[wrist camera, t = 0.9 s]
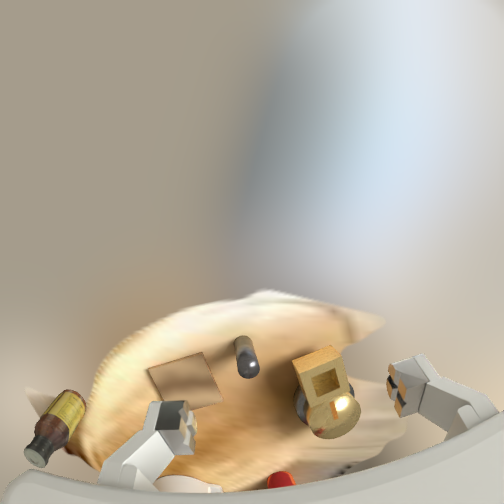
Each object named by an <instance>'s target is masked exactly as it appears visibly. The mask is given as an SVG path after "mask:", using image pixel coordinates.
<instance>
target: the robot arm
mask: <svg viewBox="0 0 504 504" xmlns="http://www.w3.org/2000/svg"><path fill="white" fill-rule="evenodd" d="M388 372H389V374H390V375H389V377H388V378H387V383H386V385H387V391H388V395H389V397H390V399H391V400H393V401H395V406H394V407H395V409H396V411H397V413H398V415H399V417H400V418H402V417H405V416H408V415H411V414H414V413H416V412H418V413H419V414H421V415H422V416H424V417H425V418H426V419H428V420H430V421H431V422H433V423H434V424H436V425H437V426H439V427H440V428H442V429H444V430H445V431H447V432H448V434H447V435H446V438H445V440H444V442H441V443H439V444H437V445H435V446H432V447H430V448H427V449H425V450H422V451H420V452H417V453H415V454H412V455H409V456H407V457H404V458H401V459H398V460H395V461H392V462H389V463H386V464H383V465H380V466H377V467H373V468H370V469H367V470H363V471H359V472H355V473H352V474H348V475H344V476H339V477H335V478H331V479H326V480H321V481H316V482H311V483H305V484H299V485H293V486H287V487H279V488H272V489H263V490H252V491H240V492H223V490H222V487H221V486H219V485H215V484H208V483H205V482H202V481H200V480H198V479H195V478H192V477H187V476H179V475H172V476H165V477H162V478H159V479H157V478H158V477H159V475H160V474H161V473H162V472H163V470H164V469H165V468H166V467H167V465H168V464H169V463H170V462H171V460H172V459H173V458H174V457H175V456H174V455H191V454H194V451H195V440H194V438H193V437H194V435H195V434H196V433H197V421H196V418H195V415H194V413H193V412H191V411H190V410H189V409H190V405H189V403H188V401H187V400H178V401H152V402H151V403H150V404H149V408H148V411H147V415H146V419H145V422H144V426H143V429H142V430H139V431H138V432H137V433H136V434H135V435H134V436H132V437H131V438H130V439H129V440H128V441H127V442H126V443H125V444H123V445H122V446H121V447H120V448H119V449H118V450H117V451H116V452H114V453H113V454H112V455H111V456H110V457H109V458H108V459H106V460H105V461H104V463H103V466H102V469H101V472H100V476H99V479H98V482H97V484H94V483H89V482H84V481H79V480H74V479H70V478H65V477H62V476H58V475H54V474H50V473H46V472H43V471H39V470H35V469H29V470H27V471H25V472H24V473H22V474H21V475H19V476H18V477H17V478H15V479H14V480H13V481H11V482H10V483H9V484H8V486H7V487H6V489H5V491H4V494H3V497H2V500H1V503H0V504H504V410H503V411H502V412H500V413H499V412H498V410H497V409H496V407H495V406H494V404H493V403H492V402H491V400H490V399H489V398H488V396H487V395H486V394H484V393H481V392H479V391H477V390H474V389H472V388H469V387H467V386H464V385H462V384H460V383H457V382H455V381H452V380H450V379H448V378H445V377H440V376H439V375H438V373H437V372H436V371H435V369H434V368H433V366H432V365H431V363H430V362H429V361H428V359H427V358H426V356H425V355H424V354H419V355H417V356H413V357H410V358H407V359H404V360H401V361H397V362H394V363H391V364H390V365H389V367H388ZM156 479H157V480H156ZM155 480H156V481H155Z"/></svg>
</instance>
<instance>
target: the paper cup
mask: <svg viewBox="0 0 504 504" xmlns="http://www.w3.org/2000/svg"><path fill="white" fill-rule="evenodd" d="M267 484H268V489H272V488H279V487H287V486H293V485H296V483H295V481H294V479H293V477H292V475H291V474H290V473H288V472H285V471H280V472H276V473H273V474H272V475H270V476H269V477H268V480H267Z"/></svg>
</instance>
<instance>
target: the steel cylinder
mask: <svg viewBox="0 0 504 504" xmlns="http://www.w3.org/2000/svg"><path fill="white" fill-rule="evenodd" d="M234 347H235V354H236V360H237V367H238V372H239V374H240V376H242V377H243V378H247V379H250V378H253V377H255V376H256V375H257V374H258V373H259V370H260V367H259V364H258V360H257V357H256V354H255V351H254V347H253V344H252V341H251V339H250V338H249V337H247V336H239V337H238V338H237V339H236V340H235V342H234Z"/></svg>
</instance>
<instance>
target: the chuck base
mask: <svg viewBox="0 0 504 504" xmlns="http://www.w3.org/2000/svg"><path fill="white" fill-rule="evenodd" d="M348 383H349V382H348ZM349 387H350V391H349V392H350V394H351V395H352V396H353V397H354V390H353V388H352V386H351V385H350V384H349ZM305 400H306V399H305V397H304V395H303V393H302V390H301V387H300V385H299V386H298V388H297V389H296V391H295V394H294V400H293V401H294V407H295V409H296V411H297V413H298V416H299V418H300V419H301V421H302V422H304V423H305V424H307V425H309V424H308V422H307V420H306V418H305V415H304V413H303V405H304V402H305Z"/></svg>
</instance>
